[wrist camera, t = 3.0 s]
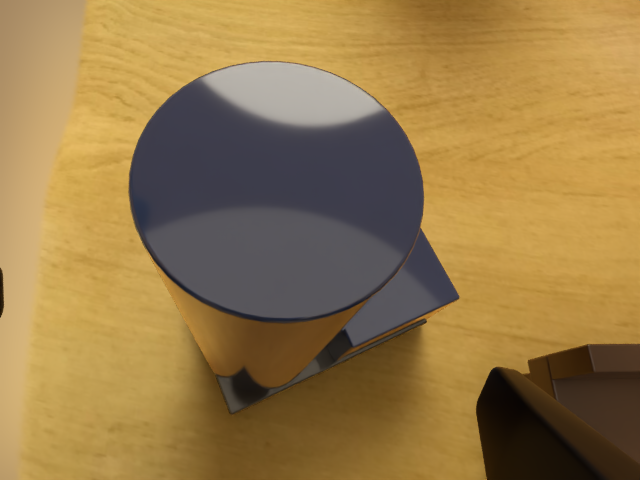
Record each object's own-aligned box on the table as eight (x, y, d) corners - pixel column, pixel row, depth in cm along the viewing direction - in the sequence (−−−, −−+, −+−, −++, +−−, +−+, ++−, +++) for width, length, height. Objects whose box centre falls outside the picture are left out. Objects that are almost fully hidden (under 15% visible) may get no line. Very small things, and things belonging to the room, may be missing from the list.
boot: (228, 417, 17) (193, 387, 6) (184, 303, 18) (86, 95, 7) (422, 325, 19) (671, 172, 8) (372, 230, 20) (525, -17, 9)
